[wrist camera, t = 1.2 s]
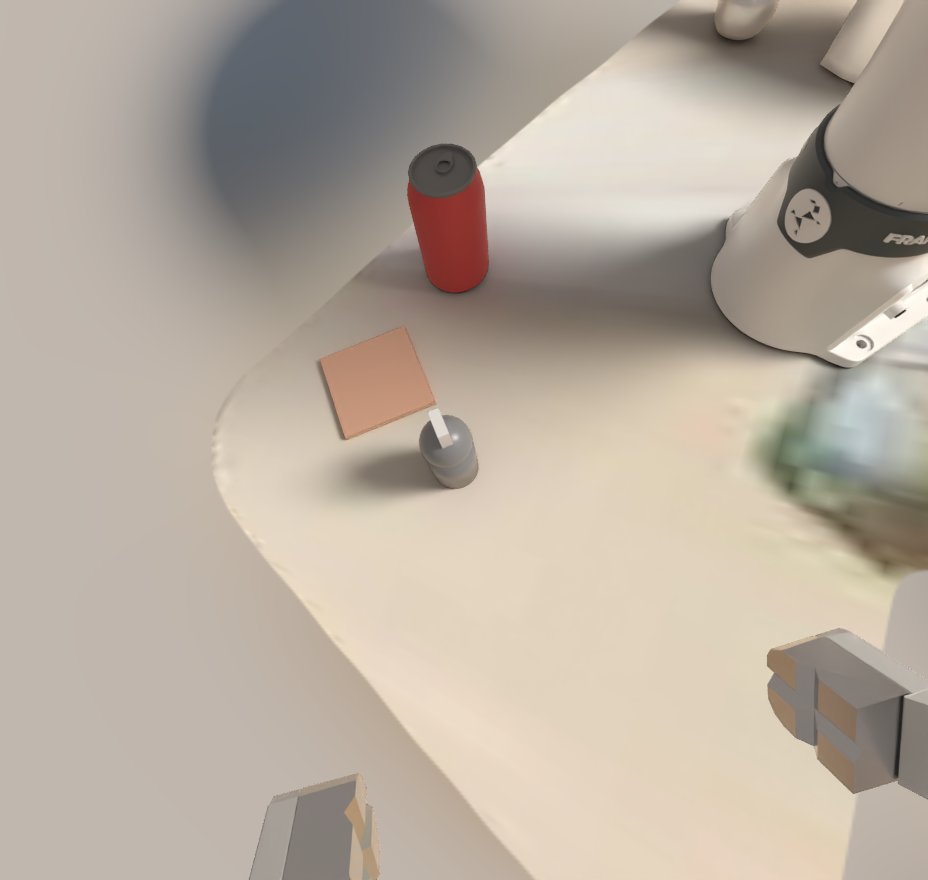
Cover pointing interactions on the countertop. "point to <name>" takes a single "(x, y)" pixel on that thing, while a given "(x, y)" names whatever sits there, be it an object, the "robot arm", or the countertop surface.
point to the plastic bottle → (743, 17)
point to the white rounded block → (860, 37)
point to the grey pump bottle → (449, 450)
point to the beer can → (449, 216)
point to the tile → (376, 382)
